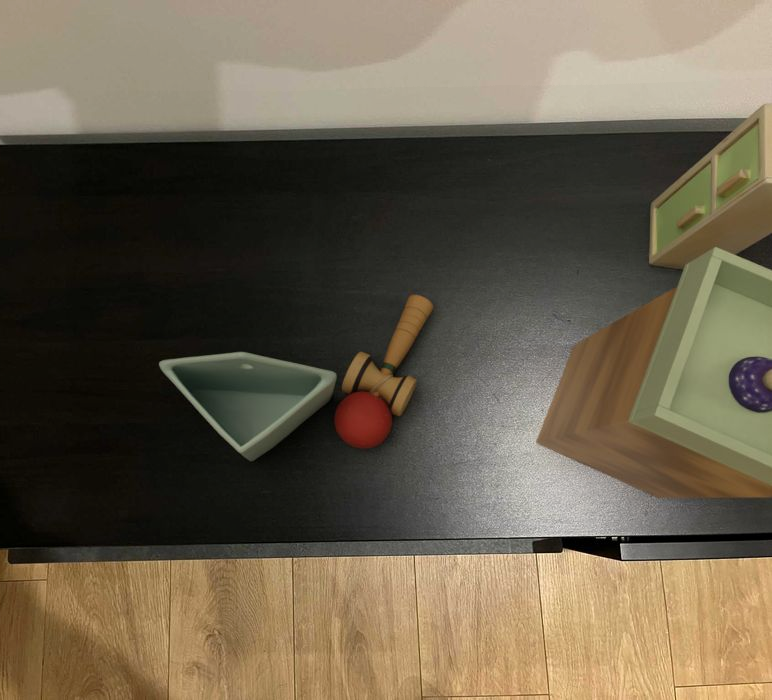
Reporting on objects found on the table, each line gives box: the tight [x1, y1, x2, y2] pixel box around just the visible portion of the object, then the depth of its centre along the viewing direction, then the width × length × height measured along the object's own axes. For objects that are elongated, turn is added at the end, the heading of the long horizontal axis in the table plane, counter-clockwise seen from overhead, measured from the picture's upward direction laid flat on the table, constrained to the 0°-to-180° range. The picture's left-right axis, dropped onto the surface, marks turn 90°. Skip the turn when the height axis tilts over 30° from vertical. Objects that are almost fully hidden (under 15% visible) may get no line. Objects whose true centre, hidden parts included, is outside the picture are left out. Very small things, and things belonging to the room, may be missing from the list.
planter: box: [158, 351, 338, 462], centre depth 66 cm, size 16×8×20 cm, turn 86°
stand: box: [535, 286, 772, 499], centre depth 64 cm, size 14×12×24 cm
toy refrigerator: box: [648, 103, 772, 271], centre depth 70 cm, size 8×7×21 cm
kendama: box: [334, 294, 434, 450], centre depth 74 cm, size 8×6×18 cm
